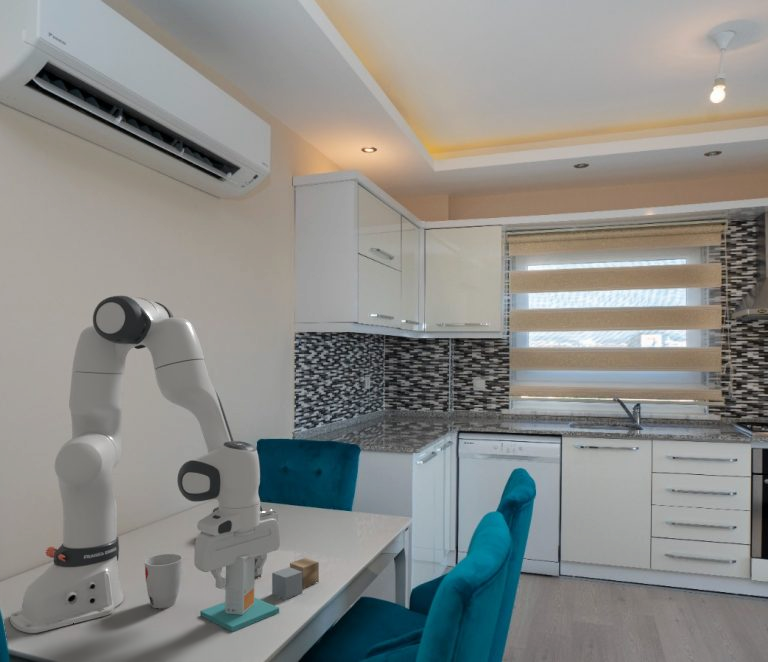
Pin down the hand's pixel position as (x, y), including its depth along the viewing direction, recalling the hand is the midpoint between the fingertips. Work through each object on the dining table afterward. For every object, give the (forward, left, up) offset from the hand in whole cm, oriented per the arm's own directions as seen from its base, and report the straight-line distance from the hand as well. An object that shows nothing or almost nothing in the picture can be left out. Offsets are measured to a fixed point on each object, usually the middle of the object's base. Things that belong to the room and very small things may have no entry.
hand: (239, 580), depth 130 cm
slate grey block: (+14, +1, -7) cm, 16 cm away
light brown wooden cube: (+21, +3, -7) cm, 22 cm away
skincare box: (0, 0, -6) cm, 6 cm away
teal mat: (0, 0, -7) cm, 7 cm away
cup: (-8, +18, -7) cm, 21 cm away
